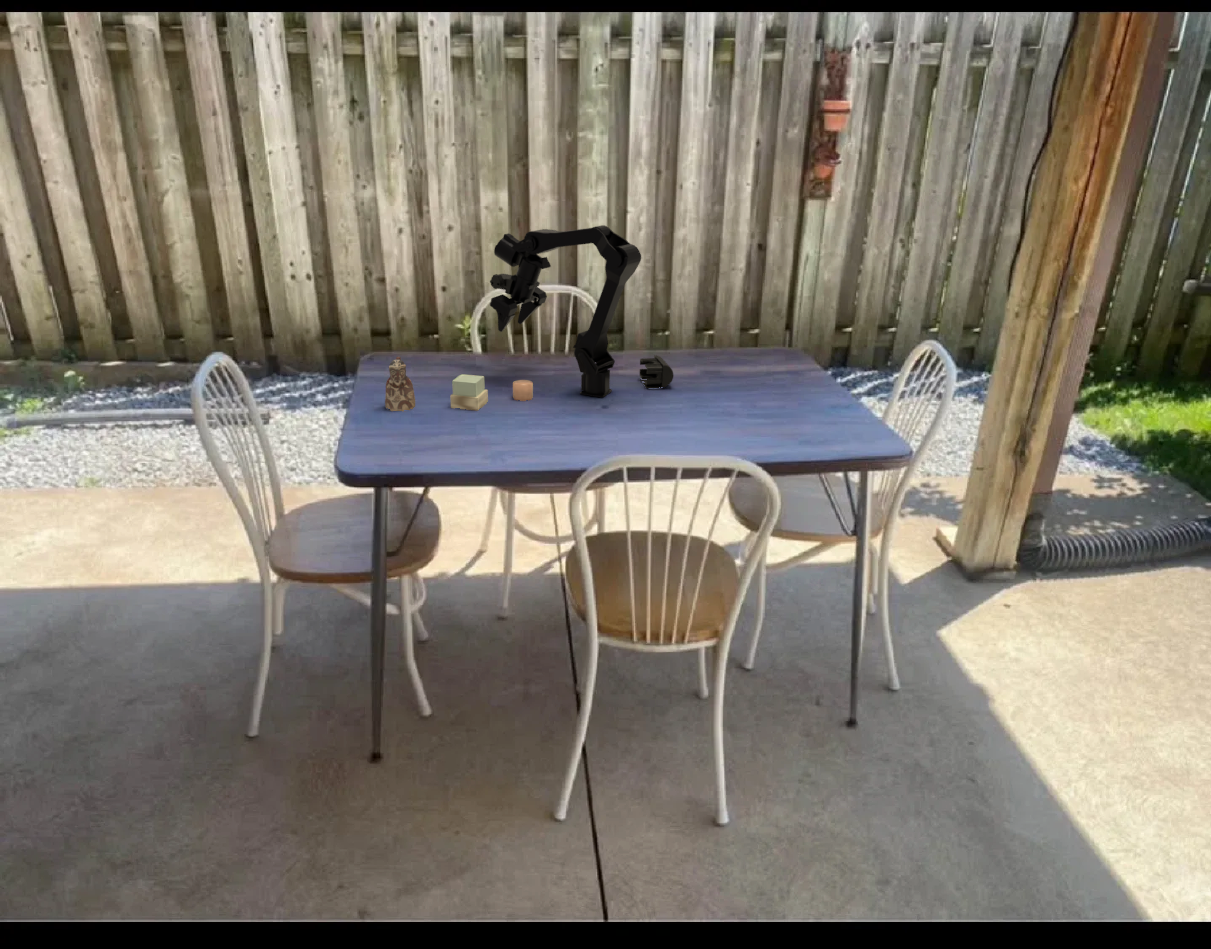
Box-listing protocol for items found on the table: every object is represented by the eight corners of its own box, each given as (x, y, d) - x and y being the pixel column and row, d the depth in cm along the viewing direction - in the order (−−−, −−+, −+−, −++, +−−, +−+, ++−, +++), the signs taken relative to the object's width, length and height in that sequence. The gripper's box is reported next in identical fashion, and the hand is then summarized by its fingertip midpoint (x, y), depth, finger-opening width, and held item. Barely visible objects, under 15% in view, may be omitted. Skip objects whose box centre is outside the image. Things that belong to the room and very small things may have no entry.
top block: (484, 389, 216) (484, 376, 215) (476, 397, 211) (475, 383, 209) (461, 387, 217) (461, 374, 216) (452, 394, 212) (452, 381, 211)
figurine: (382, 411, 209) (378, 362, 205) (389, 401, 216) (386, 354, 211) (411, 412, 209) (408, 363, 205) (418, 402, 216) (415, 355, 211)
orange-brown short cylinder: (536, 396, 223) (536, 381, 221) (527, 402, 219) (527, 386, 217) (518, 393, 225) (518, 378, 223) (509, 399, 220) (509, 384, 219)
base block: (488, 403, 218) (487, 389, 216) (478, 411, 212) (477, 398, 210) (461, 400, 219) (461, 387, 218) (450, 409, 213) (450, 395, 212)
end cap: (672, 389, 232) (674, 364, 229) (646, 390, 230) (648, 365, 228) (664, 378, 241) (665, 354, 238) (638, 379, 239) (639, 355, 237)
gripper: (522, 255, 235) (506, 305, 244) (482, 266, 220) (465, 319, 229) (555, 275, 233) (537, 325, 241) (516, 288, 218) (498, 341, 226)
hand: (509, 327), depth 235 cm, fingers open, 9 cm apart
